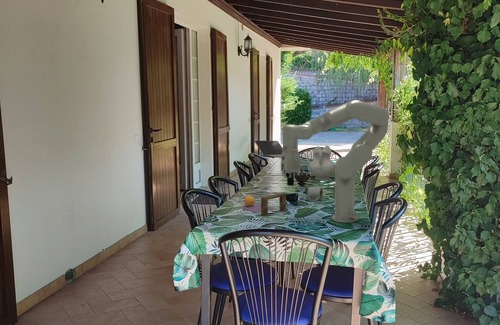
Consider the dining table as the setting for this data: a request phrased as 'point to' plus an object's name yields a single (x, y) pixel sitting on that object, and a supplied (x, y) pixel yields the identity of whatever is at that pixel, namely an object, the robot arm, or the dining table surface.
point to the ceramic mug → (315, 193)
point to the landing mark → (255, 208)
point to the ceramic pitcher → (322, 164)
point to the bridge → (265, 199)
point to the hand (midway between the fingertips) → (290, 185)
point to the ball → (249, 201)
